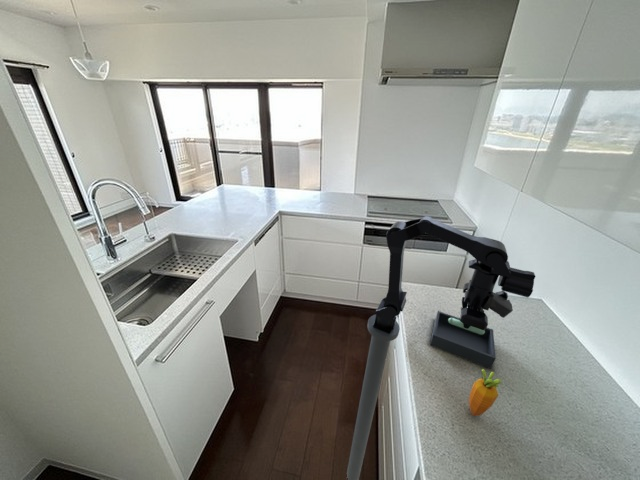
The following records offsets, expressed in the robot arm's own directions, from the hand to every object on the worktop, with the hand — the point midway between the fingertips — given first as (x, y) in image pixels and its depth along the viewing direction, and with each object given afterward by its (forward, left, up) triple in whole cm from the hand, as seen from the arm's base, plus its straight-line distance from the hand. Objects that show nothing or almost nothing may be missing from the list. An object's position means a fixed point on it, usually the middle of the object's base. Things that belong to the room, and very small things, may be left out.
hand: (465, 325), depth 79 cm
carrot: (+5, -20, -11) cm, 23 cm away
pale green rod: (0, 0, -1) cm, 1 cm away
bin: (+1, +5, -11) cm, 12 cm away
